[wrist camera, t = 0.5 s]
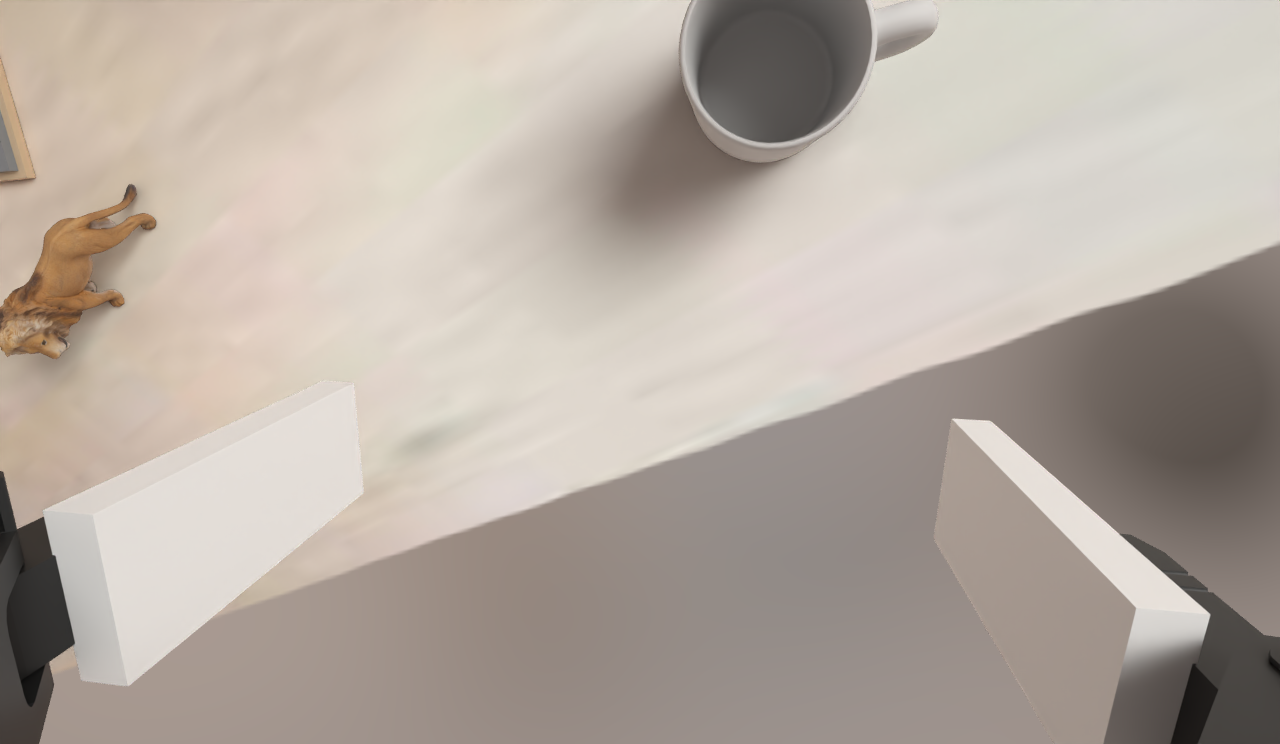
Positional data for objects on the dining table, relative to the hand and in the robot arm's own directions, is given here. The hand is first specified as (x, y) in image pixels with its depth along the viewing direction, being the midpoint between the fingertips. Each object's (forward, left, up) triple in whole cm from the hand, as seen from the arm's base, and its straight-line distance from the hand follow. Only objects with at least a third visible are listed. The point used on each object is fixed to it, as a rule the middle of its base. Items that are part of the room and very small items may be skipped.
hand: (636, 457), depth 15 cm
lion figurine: (-5, -40, -29) cm, 50 cm away
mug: (-11, +6, -29) cm, 32 cm away
